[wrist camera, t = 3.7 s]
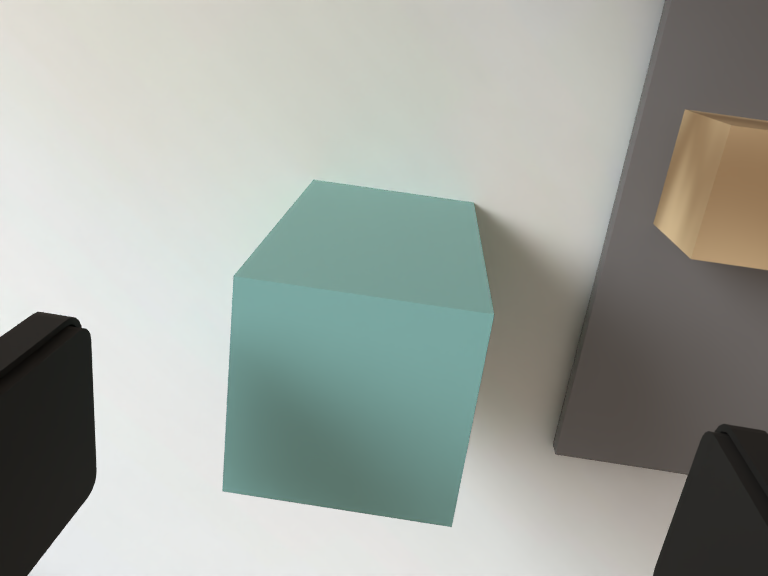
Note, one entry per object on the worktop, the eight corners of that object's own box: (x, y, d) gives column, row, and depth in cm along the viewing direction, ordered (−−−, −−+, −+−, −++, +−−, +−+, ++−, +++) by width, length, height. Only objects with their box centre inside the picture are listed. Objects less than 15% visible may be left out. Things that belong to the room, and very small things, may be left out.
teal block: (447, 347, 21) (451, 526, 13) (300, 326, 21) (222, 491, 14) (473, 202, 19) (494, 314, 12) (313, 180, 19) (233, 276, 12)
